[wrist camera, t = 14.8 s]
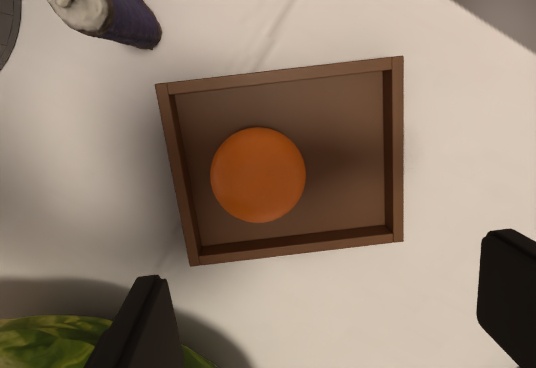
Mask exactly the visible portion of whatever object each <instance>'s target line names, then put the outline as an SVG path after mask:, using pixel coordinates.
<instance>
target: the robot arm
mask: <svg viewBox="0 0 536 368" xmlns="http://www.w3.org/2000/svg"><path fill="white" fill-rule="evenodd" d="M476 313H477V319H478V322H479V324H480V326H481V327H482V328H483V329H484V330H485V331H486V332H487V333H488V334H489V335H490V336H491V337H492V338H493V339H494V340H495V342H496V343H497V344H498V345H499V346H500V347H501V348H502V349H503V350H504V351H505V352H506V353H507V354H508V355H509V356H510V357H511V358H512V359H513V360H514V361H515V362H516V363H517V364H518V365H519V366H520V367H521V368H536V242H535V241H533V240H532V239H530V238H528V237H526V236H524V235H523V234H521V233H519V232H517V231H515V230H513V229H503V230H495V231H490V232H488V233H487V235H486V237H484V238H483V239H482V242H481V256H480V270H479V284H478V298H477V312H476ZM83 368H184V355H183V350H182V346H181V341H180V336H179V332H178V327H177V323H176V318H175V314H174V309H173V305H172V300H171V296H170V291H169V286H168V282H167V280H166V279H161V278H160V276H159V275H150V276H143V277H138V278H137V279H136V280H135V282H134V284H133V286H132V288H131V289H130V291H129V293H128V295H127V297H126V298H125V300H124V302H123V304H122V306H121V308H120V309H119V311H118V313H117V315H116V317H115V318H114V320H113V322H112V324H111V326H110V327H109V328H108V329H106V330H105V331H104V332H103V333H102V335H101V337H100V339H99V340H98V342H97V344H96V346H95V347H94V349H93V351H92V353H91V354H90V356H89V358H88V360H87V362H86V363H85V365H84V367H83Z"/></svg>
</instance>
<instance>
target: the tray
mask: <svg viewBox="0 0 536 368" xmlns="http://www.w3.org/2000/svg"><path fill="white" fill-rule="evenodd" d="M403 78H404V57H403V56H396V57H387V58H378V59H369V60H361V61H352V62H343V63H334V64H326V65H317V66H308V67H299V68H291V69H282V70H273V71H264V72H256V73H247V74H238V75H229V76H221V77H212V78H203V79H194V80H186V81H177V82H168V83H160V84H155V89H156V94H157V99H158V104H159V109H160V115H161V120H162V125H163V130H164V135H165V140H166V145H167V151H168V156H169V161H170V166H171V171H172V176H173V182H174V187H175V192H176V197H177V202H178V207H179V212H180V218H181V223H182V228H183V233H184V238H185V243H186V248H187V254H188V259H189V264H190V266H199V265H208V264H216V263H225V262H233V261H241V260H250V259H258V258H267V257H275V256H284V255H292V254H300V253H309V252H317V251H326V250H334V249H343V248H351V247H359V246H368V245H376V244H385V243H392V242H403ZM255 127H262V128H269V129H272V130H275V131H278V132H280V133H281V134H283V135H285V136H286V137H287V138H289V139H290V140H291V141H292V142H293V143H294V144H295V146H296V147H297V148H298V150H299V151H300V153H301V155H302V158H303V160H304V164H305V170H306V181H305V186H304V190H303V193H302V195H301V197H300V199H299V201H298V202H297V203H296V205H295V206H294V207H293V208H292V209H291V210H290V211H289V212H288V213H286V214H285V215H283V216H282V217H280V218H278V219H275V220H273V221H269V222H264V223H252V222H246V221H243V220H240V219H238V218H236V217H234V216H232V215H231V214H230V213H228V212H227V211H226V210H225V209H224V208H223V207H222V206H221V205H220V203H219V202H218V200H217V199H216V197H215V195H214V193H213V190H212V186H211V180H210V169H211V164H212V160H213V157H214V155H215V153H216V151H217V150H218V148H219V147H220V145H221V144H222V143H223V142H224V141H225V140H226V139H227V138H229V137H230V136H231V135H233V134H235V133H237V132H239V131H241V130H244V129H247V128H255Z"/></svg>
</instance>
